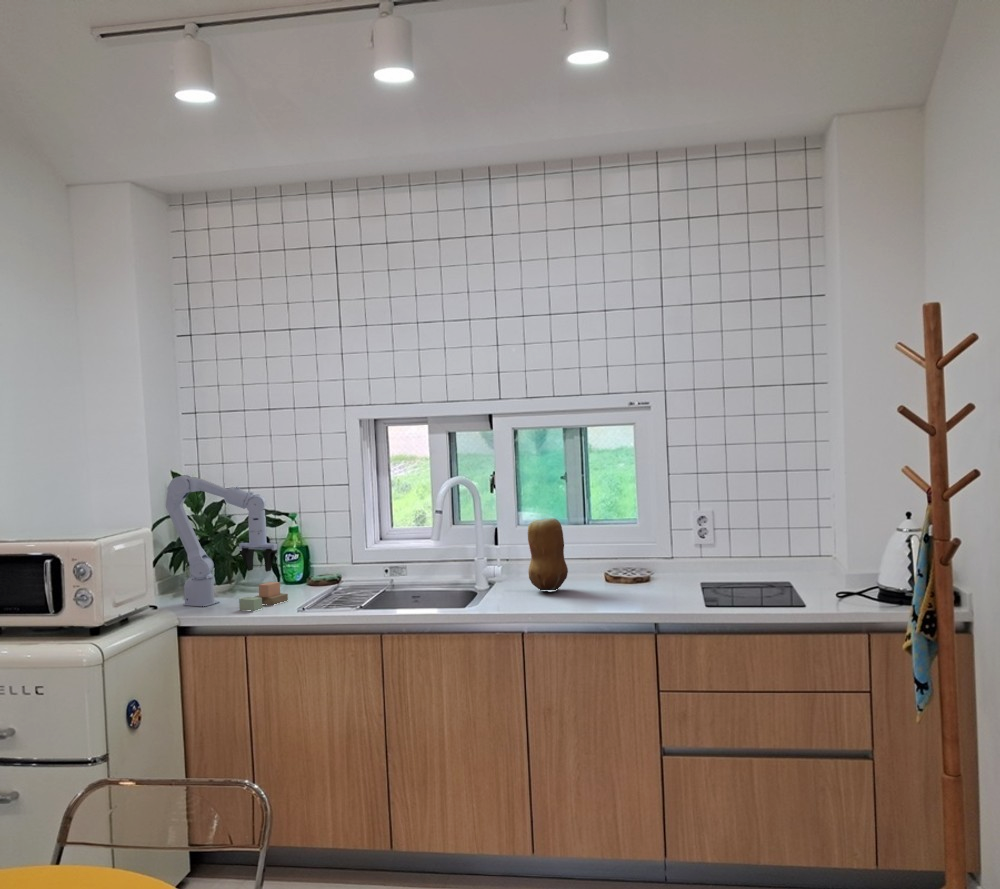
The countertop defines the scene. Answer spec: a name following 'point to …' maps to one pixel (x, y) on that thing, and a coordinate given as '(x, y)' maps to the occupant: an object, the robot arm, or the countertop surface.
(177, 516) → the robot arm
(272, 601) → the walnut slab
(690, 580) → the countertop surface
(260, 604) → the sage brick
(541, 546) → the butternut squash
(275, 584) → the terracotta brick
